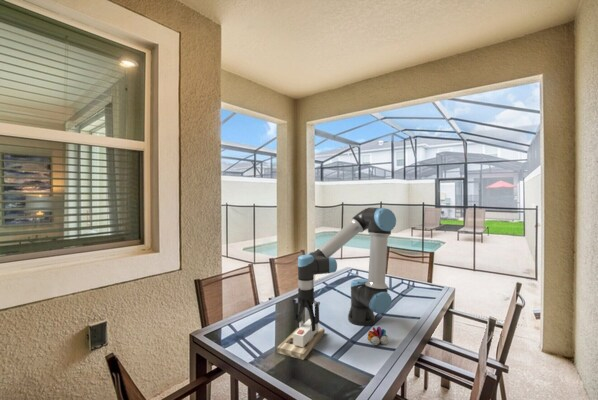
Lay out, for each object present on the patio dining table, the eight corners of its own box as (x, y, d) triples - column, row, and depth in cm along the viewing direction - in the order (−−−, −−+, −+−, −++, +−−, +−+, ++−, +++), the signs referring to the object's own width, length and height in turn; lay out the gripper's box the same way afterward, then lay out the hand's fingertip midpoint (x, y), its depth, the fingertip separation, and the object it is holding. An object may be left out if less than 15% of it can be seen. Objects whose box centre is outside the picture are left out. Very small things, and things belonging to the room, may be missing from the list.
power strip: (318, 334, 141) (318, 319, 141) (303, 351, 125) (303, 334, 125) (309, 332, 143) (309, 317, 143) (293, 349, 127) (293, 332, 127)
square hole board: (324, 333, 144) (324, 328, 144) (303, 359, 120) (303, 353, 120) (301, 328, 149) (301, 324, 149) (277, 352, 126) (277, 347, 126)
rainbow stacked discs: (365, 338, 139) (365, 323, 139) (384, 337, 140) (383, 322, 140) (371, 346, 131) (370, 331, 131) (391, 345, 131) (390, 330, 132)
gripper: (326, 287, 133) (326, 336, 133) (292, 283, 141) (293, 329, 141) (320, 292, 127) (321, 343, 127) (285, 287, 135) (286, 335, 135)
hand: (306, 335), depth 134 cm, fingers closed on power strip, 5 cm apart
